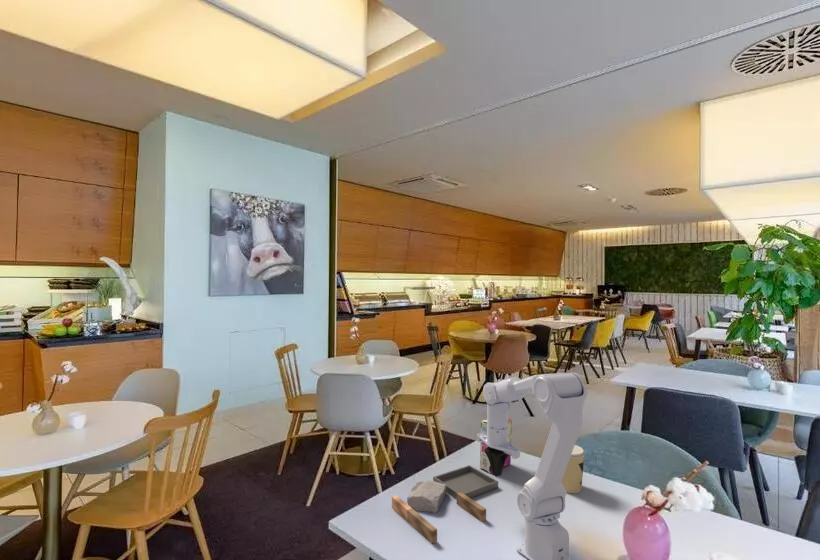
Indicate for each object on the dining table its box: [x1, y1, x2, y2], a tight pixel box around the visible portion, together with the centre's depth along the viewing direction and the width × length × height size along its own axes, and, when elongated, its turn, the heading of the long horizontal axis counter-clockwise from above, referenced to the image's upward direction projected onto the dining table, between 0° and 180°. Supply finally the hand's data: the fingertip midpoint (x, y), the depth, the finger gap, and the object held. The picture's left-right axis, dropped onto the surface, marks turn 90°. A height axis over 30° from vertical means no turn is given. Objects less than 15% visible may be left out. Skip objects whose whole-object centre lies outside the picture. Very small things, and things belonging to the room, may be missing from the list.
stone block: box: [406, 480, 447, 514], centre depth 120 cm, size 12×5×10 cm
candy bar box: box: [479, 416, 513, 474], centre depth 142 cm, size 11×5×16 cm, turn 130°
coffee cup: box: [561, 444, 585, 494], centre depth 128 cm, size 9×9×12 cm
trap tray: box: [432, 464, 499, 500], centre depth 129 cm, size 13×15×2 cm
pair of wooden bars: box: [391, 492, 487, 544], centre depth 113 cm, size 19×18×3 cm
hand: (497, 475), depth 114 cm, fingers closed
